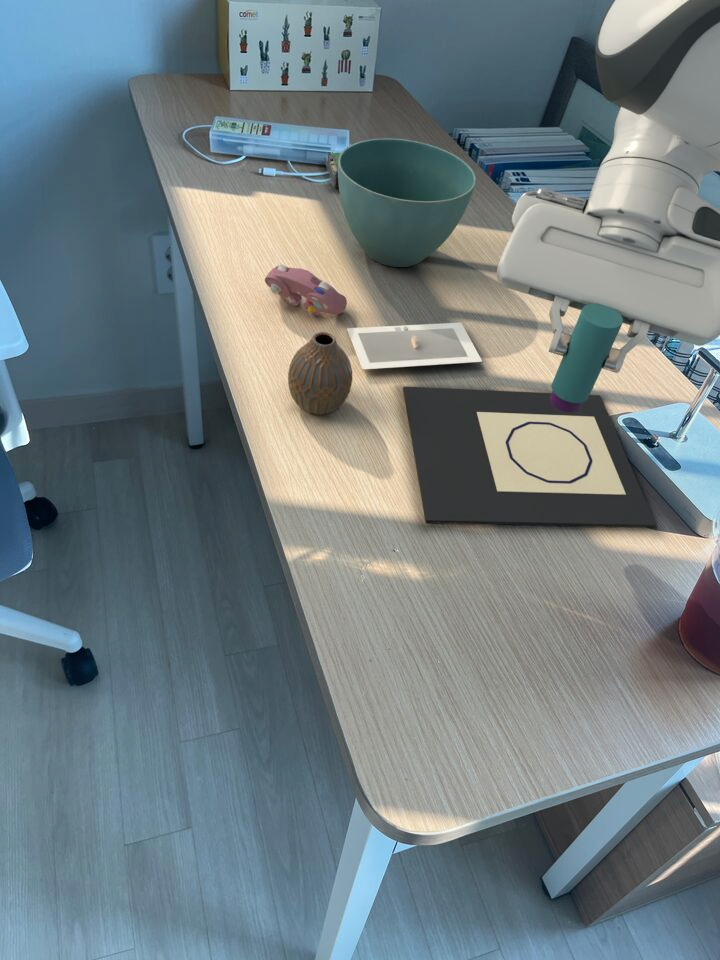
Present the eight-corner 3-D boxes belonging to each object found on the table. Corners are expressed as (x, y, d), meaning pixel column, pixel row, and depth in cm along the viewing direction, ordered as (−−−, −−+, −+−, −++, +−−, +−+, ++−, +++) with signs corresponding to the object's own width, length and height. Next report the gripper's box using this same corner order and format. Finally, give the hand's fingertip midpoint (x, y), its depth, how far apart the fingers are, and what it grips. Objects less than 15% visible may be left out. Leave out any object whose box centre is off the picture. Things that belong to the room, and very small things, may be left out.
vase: (277, 412, 82) (280, 348, 76) (299, 375, 87) (304, 312, 80) (337, 431, 81) (345, 367, 75) (356, 392, 86) (365, 329, 80)
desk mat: (599, 397, 91) (600, 394, 90) (654, 527, 77) (657, 524, 77) (402, 388, 87) (403, 385, 87) (425, 522, 74) (426, 519, 74)
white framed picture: (480, 368, 92) (484, 354, 90) (361, 376, 88) (363, 362, 86) (459, 329, 97) (462, 315, 95) (345, 335, 93) (347, 321, 91)
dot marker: (578, 390, 74) (616, 304, 66) (588, 415, 71) (628, 329, 64) (542, 388, 73) (577, 301, 66) (551, 414, 71) (588, 326, 63)
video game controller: (268, 306, 98) (255, 274, 91) (285, 278, 99) (274, 245, 92) (334, 334, 95) (326, 304, 89) (351, 305, 97) (344, 273, 90)
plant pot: (304, 235, 108) (311, 150, 99) (402, 209, 117) (415, 128, 108) (383, 301, 99) (397, 214, 90) (481, 267, 108) (504, 185, 99)
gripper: (525, 167, 66) (473, 319, 66) (763, 234, 63) (706, 392, 63) (521, 195, 72) (473, 333, 72) (737, 256, 69) (685, 400, 70)
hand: (583, 361), depth 68 cm, fingers closed on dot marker, 3 cm apart
